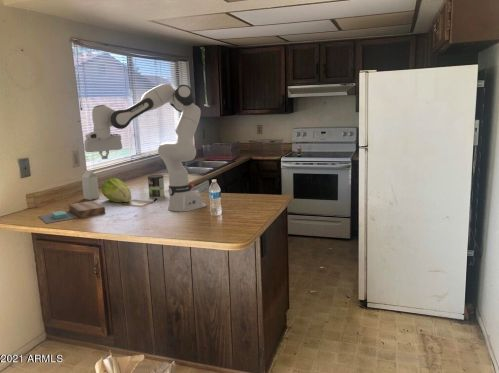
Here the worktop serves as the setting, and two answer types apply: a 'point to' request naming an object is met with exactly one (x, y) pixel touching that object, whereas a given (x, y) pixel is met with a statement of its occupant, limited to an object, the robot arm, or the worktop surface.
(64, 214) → the teal block
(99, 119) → the robot arm
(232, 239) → the worktop surface
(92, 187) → the milk carton
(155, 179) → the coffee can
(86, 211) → the board
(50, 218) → the grey mat
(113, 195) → the lettuce
